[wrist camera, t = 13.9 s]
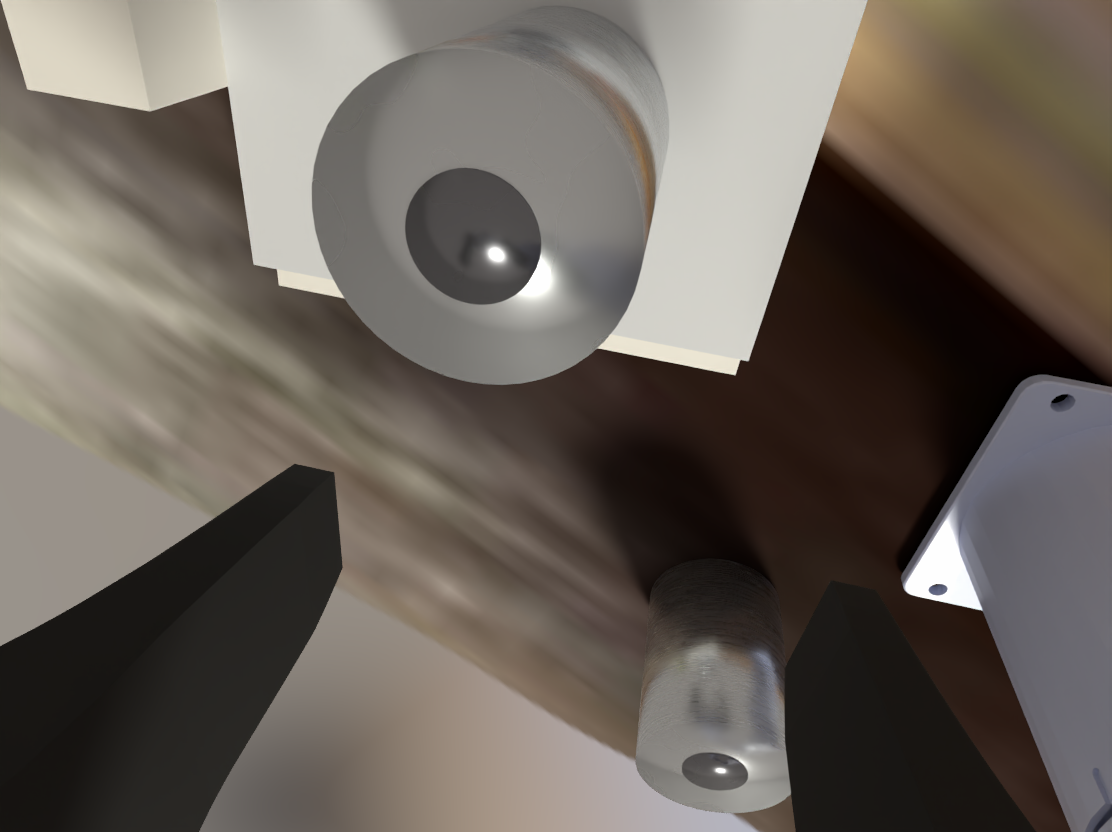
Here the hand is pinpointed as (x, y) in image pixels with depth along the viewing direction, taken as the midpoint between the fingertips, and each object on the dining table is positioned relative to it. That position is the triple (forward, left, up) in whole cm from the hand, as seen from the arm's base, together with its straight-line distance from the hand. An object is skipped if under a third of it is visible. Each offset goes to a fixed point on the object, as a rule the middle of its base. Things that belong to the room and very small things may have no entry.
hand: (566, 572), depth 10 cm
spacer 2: (-5, +11, -10) cm, 16 cm away
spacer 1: (+2, -4, -7) cm, 9 cm away
